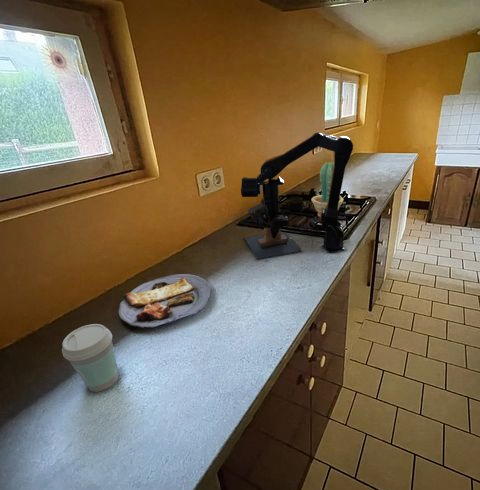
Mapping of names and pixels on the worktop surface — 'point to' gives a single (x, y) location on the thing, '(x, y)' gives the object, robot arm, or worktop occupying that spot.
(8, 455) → the worktop surface
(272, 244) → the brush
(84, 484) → the worktop surface
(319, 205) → the potted cactus
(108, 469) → the worktop surface
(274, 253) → the mat
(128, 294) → the food plate
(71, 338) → the coffee cup
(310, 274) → the worktop surface
